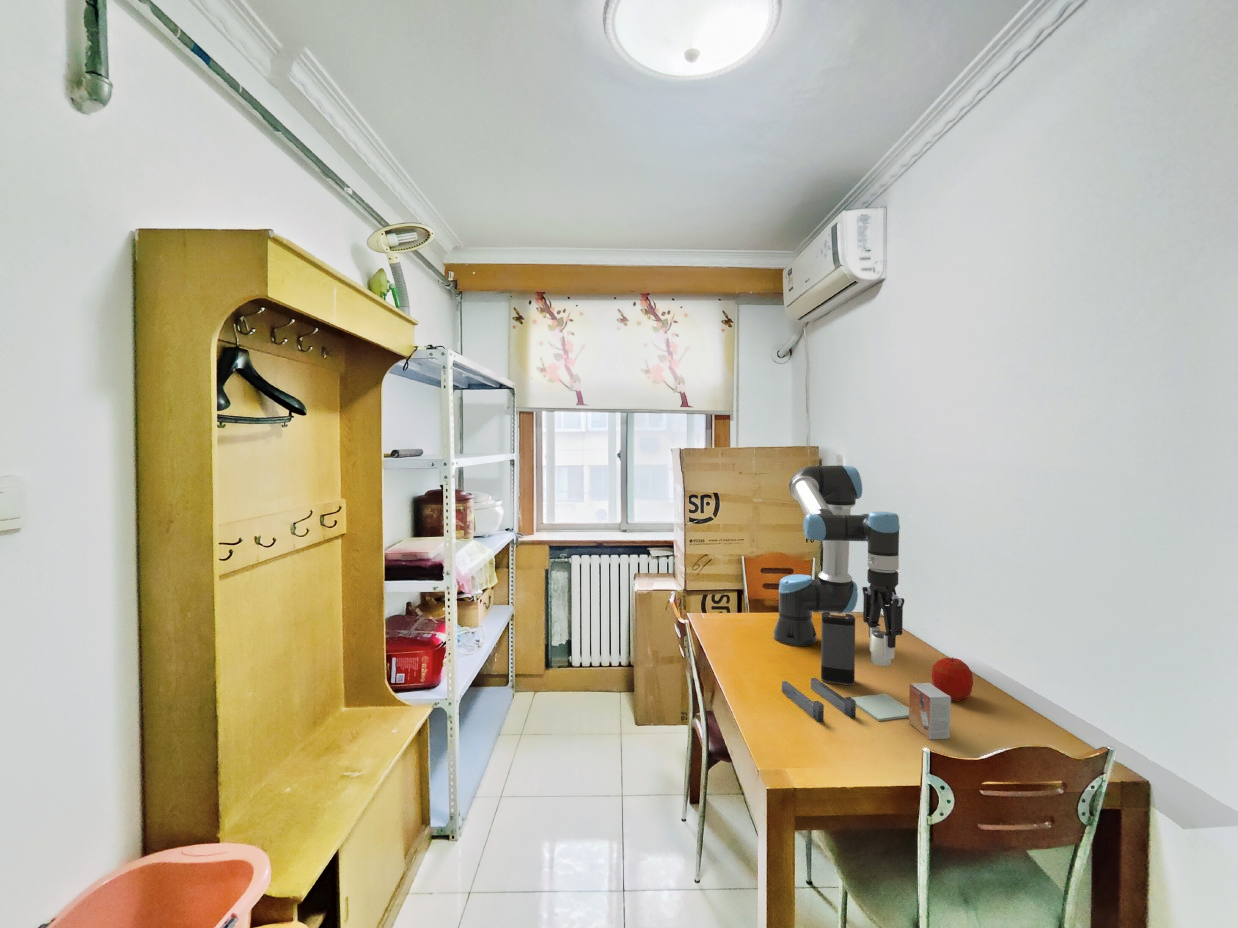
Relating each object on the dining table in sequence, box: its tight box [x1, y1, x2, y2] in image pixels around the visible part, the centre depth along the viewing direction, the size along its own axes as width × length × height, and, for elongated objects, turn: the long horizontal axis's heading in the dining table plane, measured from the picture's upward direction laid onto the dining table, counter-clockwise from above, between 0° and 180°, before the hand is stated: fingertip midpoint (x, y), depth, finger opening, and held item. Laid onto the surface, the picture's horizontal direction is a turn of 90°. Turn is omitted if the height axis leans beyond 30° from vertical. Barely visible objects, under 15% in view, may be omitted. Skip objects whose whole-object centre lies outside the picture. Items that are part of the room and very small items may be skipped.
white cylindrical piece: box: [870, 630, 892, 667], centre depth 146 cm, size 5×5×8 cm
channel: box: [781, 677, 857, 723], centre depth 148 cm, size 18×11×4 cm, turn 13°
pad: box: [851, 693, 909, 722], centre depth 146 cm, size 12×12×1 cm
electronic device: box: [820, 612, 856, 686], centre depth 163 cm, size 9×6×20 cm, turn 71°
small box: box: [908, 682, 952, 740], centre depth 134 cm, size 8×6×10 cm
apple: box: [931, 657, 974, 702], centre depth 152 cm, size 10×10×12 cm
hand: (881, 654), depth 146 cm, fingers closed on white cylindrical piece, 5 cm apart
